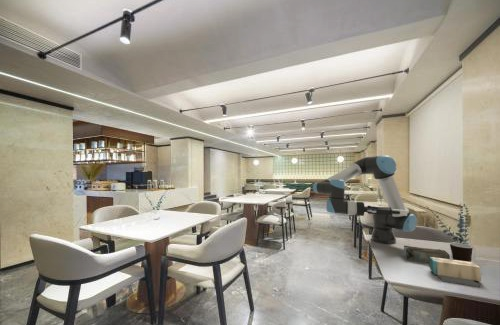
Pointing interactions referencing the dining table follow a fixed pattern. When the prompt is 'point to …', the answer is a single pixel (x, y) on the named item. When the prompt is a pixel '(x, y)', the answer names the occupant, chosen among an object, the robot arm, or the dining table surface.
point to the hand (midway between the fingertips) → (406, 213)
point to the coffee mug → (461, 252)
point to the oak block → (455, 268)
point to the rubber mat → (458, 280)
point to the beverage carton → (424, 254)
